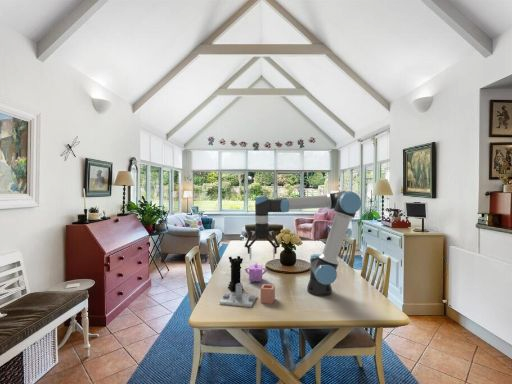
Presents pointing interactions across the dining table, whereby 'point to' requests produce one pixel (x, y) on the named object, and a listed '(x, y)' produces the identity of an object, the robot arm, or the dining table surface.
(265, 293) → the box
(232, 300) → the stand
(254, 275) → the teapot
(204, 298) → the dining table surface
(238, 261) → the chess piece
